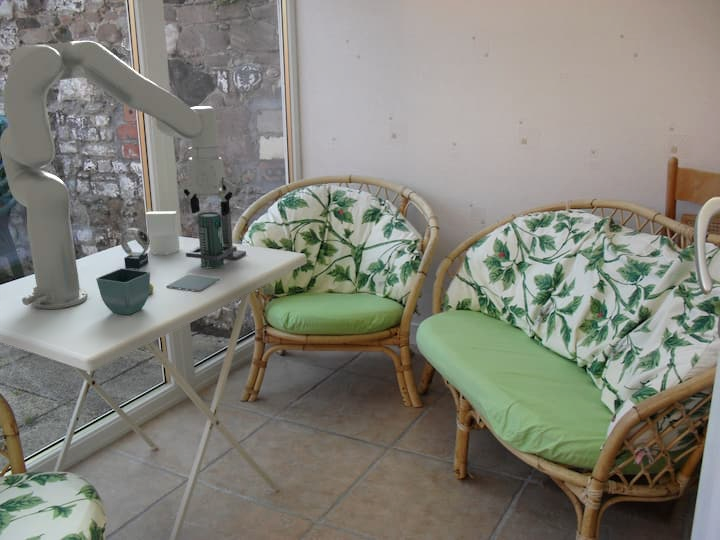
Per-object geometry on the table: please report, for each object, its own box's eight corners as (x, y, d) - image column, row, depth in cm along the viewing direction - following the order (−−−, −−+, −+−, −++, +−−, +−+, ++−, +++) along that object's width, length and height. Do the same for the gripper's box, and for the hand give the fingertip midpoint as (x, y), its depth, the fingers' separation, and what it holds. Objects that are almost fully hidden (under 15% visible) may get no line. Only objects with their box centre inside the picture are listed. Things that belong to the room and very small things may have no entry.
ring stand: (218, 272, 185) (215, 223, 180) (187, 268, 188) (183, 220, 184) (249, 254, 201) (247, 209, 196) (219, 251, 204) (216, 207, 199)
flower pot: (125, 302, 162) (121, 267, 160) (154, 307, 159) (151, 271, 157) (99, 314, 155) (95, 278, 152) (130, 319, 152) (125, 283, 149)
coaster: (199, 291, 169) (199, 290, 169) (166, 287, 172) (166, 285, 172) (219, 279, 178) (219, 278, 178) (188, 275, 181) (188, 274, 181)
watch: (146, 269, 187) (142, 231, 183) (119, 267, 188) (115, 230, 185) (154, 263, 192) (151, 226, 189) (129, 262, 193) (125, 225, 190)
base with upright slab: (182, 246, 210) (179, 209, 206) (176, 254, 201) (173, 215, 197) (153, 246, 209) (149, 209, 205) (146, 254, 201) (142, 216, 197)
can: (227, 264, 191) (224, 214, 186) (209, 269, 187) (205, 217, 182) (215, 260, 195) (212, 210, 190) (197, 264, 191) (193, 214, 186)
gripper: (170, 153, 180) (176, 214, 186) (225, 156, 175) (230, 218, 180) (185, 149, 187) (191, 208, 193) (239, 152, 182) (244, 212, 187)
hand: (210, 213), depth 187 cm, fingers open, 9 cm apart
